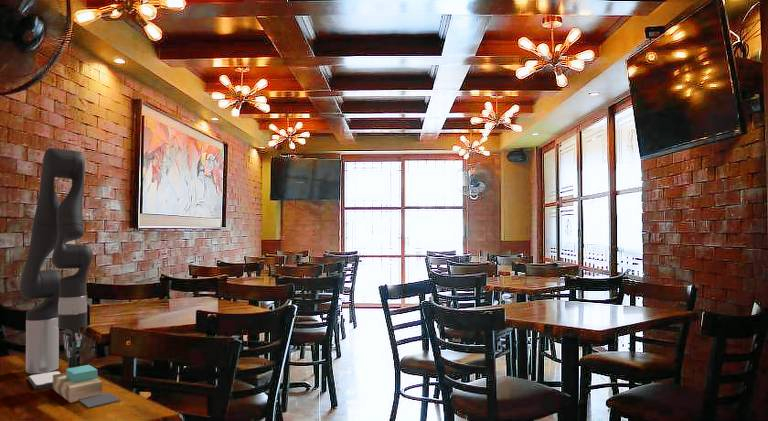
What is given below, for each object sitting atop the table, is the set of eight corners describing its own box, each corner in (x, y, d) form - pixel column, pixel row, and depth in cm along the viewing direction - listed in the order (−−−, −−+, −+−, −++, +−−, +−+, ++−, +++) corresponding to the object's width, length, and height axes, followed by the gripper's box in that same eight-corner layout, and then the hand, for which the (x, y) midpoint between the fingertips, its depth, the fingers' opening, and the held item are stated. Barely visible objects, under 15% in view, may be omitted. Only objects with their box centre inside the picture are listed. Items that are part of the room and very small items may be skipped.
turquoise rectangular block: (66, 377, 154) (66, 368, 154) (88, 373, 158) (88, 364, 158) (74, 383, 148) (74, 374, 148) (97, 378, 152) (97, 369, 152)
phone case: (26, 380, 167) (34, 391, 155) (26, 375, 167) (34, 385, 155) (59, 375, 173) (69, 385, 161) (59, 370, 173) (69, 379, 161)
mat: (78, 400, 145) (78, 399, 145) (109, 393, 151) (109, 392, 151) (88, 408, 139) (88, 407, 139) (121, 401, 144) (121, 399, 144)
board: (52, 388, 156) (52, 375, 156) (82, 382, 162) (82, 369, 162) (70, 402, 144) (70, 387, 144) (102, 395, 149) (102, 381, 149)
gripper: (52, 310, 162) (52, 367, 161) (64, 315, 152) (64, 376, 152) (80, 307, 167) (80, 363, 167) (93, 312, 158) (93, 370, 157)
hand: (72, 369), depth 159 cm, fingers closed
